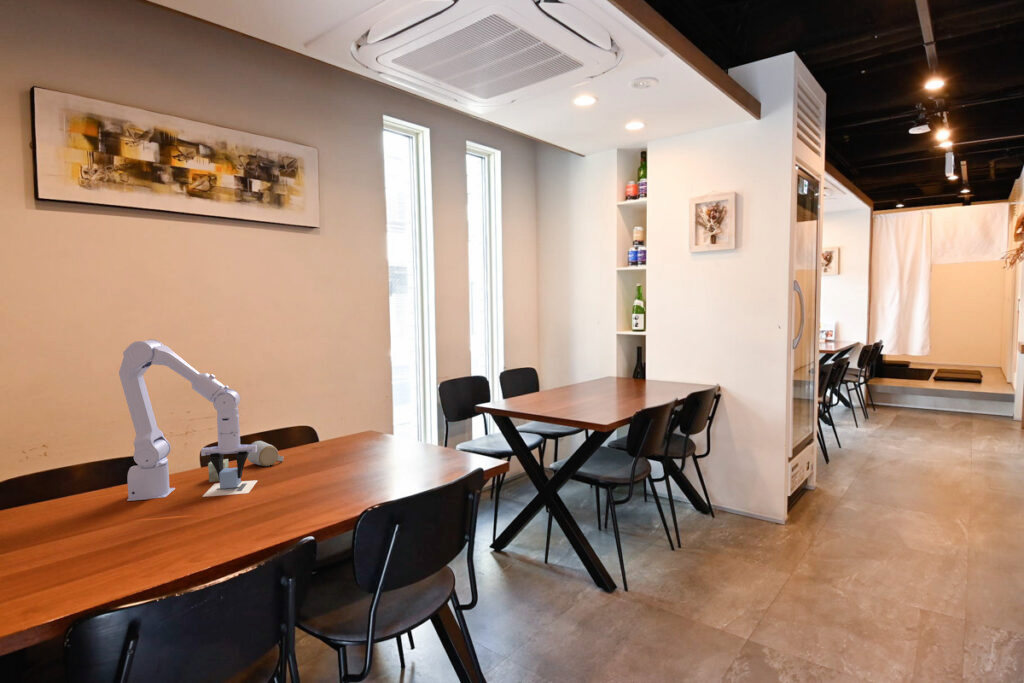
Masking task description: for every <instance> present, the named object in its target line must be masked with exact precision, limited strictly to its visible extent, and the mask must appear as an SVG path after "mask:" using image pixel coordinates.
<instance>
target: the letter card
mask: <svg viewBox="0 0 1024 683" xmlns="http://www.w3.org/2000/svg"><path fill="white" fill-rule="evenodd" d="M258 481H259V480H256V479H255V480H254V479H253V480H244V481H243V480H241V483H240V484H239V485H238V486H237V487H231V488H220V482H218V483H217V482H216V483H213V485H211V487H210V488H208V490H207V491H206V492H205V493H204V494H203V495H202V498H203V497H204V498H205V497H215V496H217V497H218V496H229V495H240V494H241V495H244V494H249V493H250V492H251V490H252V489H253V488H254V486H255V485H256V484H257V482H258Z"/></svg>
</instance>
